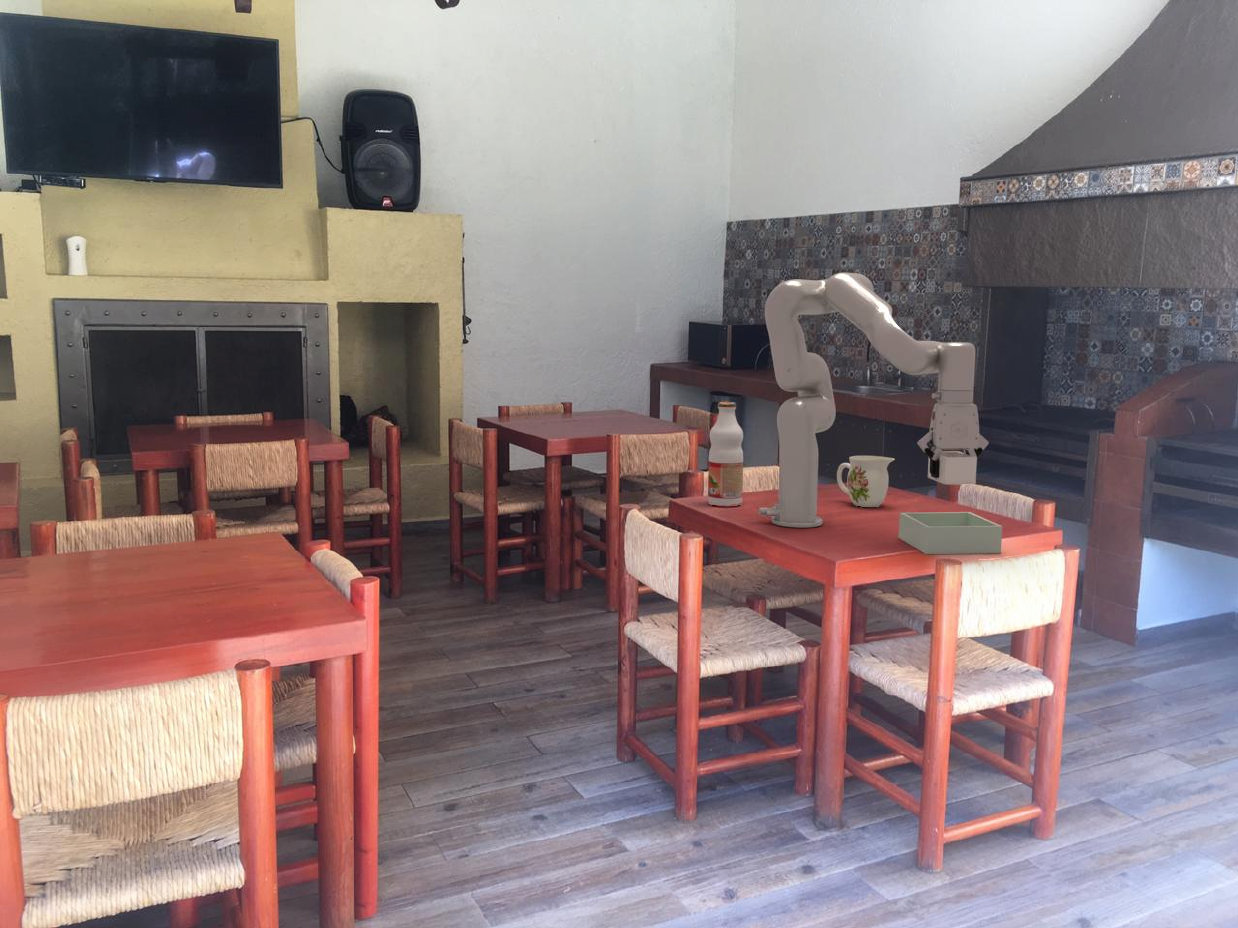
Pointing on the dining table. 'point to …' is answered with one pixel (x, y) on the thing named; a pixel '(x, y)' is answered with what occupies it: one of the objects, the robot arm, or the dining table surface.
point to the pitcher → (866, 479)
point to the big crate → (950, 533)
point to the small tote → (955, 468)
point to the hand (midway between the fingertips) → (951, 476)
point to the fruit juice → (725, 458)
